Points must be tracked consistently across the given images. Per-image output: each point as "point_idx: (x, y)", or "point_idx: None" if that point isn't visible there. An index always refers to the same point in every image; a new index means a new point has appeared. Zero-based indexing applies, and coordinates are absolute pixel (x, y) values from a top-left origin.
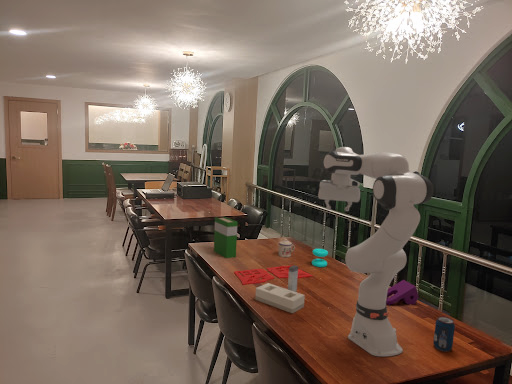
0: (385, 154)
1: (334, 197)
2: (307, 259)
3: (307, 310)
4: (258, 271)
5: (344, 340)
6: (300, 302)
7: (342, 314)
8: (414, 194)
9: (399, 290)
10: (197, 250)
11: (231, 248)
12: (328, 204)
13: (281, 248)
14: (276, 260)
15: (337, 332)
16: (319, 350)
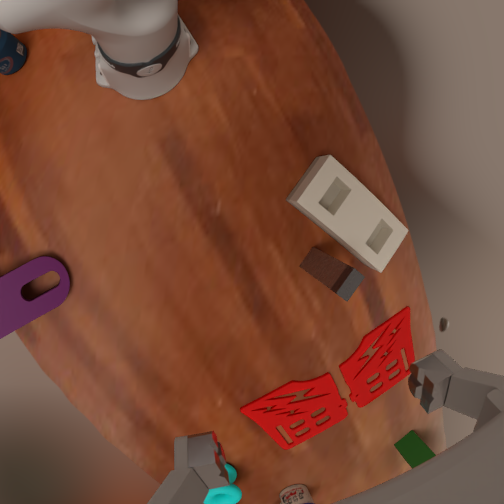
0: None
1: (488, 462)
2: (242, 490)
3: (277, 179)
4: (369, 389)
5: (208, 40)
6: (302, 184)
7: (185, 169)
8: None
9: (15, 292)
10: (445, 437)
11: (413, 448)
12: (471, 377)
13: (308, 497)
14: (316, 464)
15: (217, 70)
16: (268, 6)
